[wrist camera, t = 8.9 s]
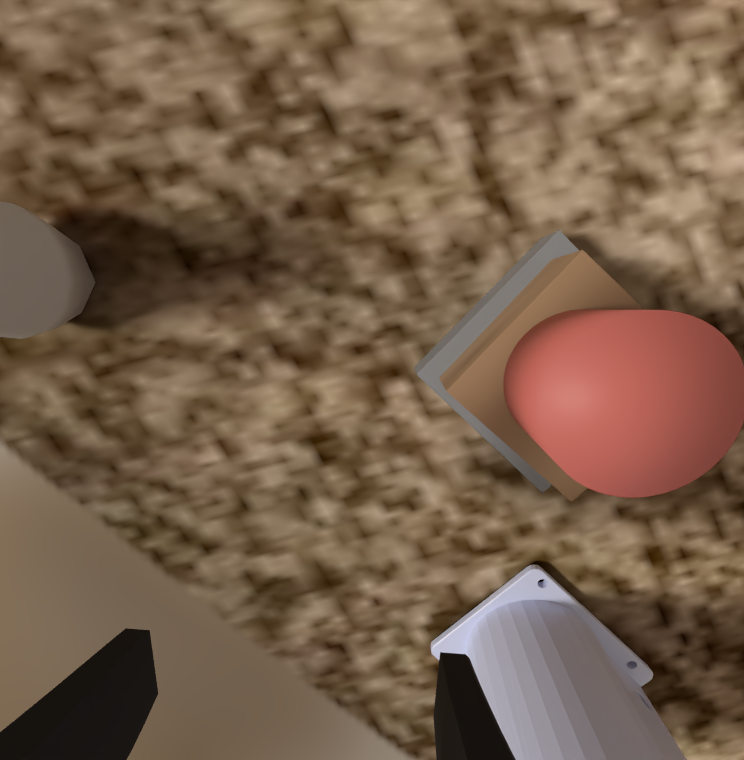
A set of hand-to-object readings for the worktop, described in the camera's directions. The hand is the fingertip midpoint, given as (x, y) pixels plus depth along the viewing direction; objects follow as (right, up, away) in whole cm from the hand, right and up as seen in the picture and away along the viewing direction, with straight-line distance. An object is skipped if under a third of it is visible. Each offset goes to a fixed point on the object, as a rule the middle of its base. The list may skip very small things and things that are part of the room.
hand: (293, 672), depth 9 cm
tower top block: (+9, +8, +6) cm, 14 cm away
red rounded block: (+9, +7, +4) cm, 12 cm away
